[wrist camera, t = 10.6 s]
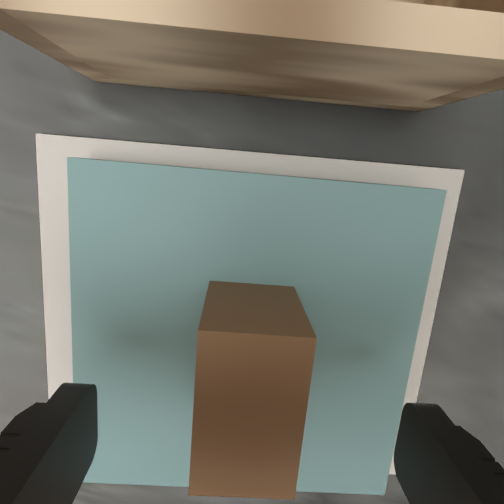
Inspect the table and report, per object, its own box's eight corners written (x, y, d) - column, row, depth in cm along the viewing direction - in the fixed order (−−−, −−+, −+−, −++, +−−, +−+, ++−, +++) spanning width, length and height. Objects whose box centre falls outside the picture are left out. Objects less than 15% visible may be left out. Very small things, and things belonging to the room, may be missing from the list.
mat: (458, 170, 15) (464, 170, 14) (397, 467, 18) (401, 474, 18) (41, 134, 14) (35, 133, 14) (55, 453, 17) (51, 460, 17)
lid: (421, 186, 15) (537, 203, 9) (370, 461, 18) (432, 605, 12) (88, 157, 14) (-14, 155, 8) (92, 448, 17) (19, 593, 11)
